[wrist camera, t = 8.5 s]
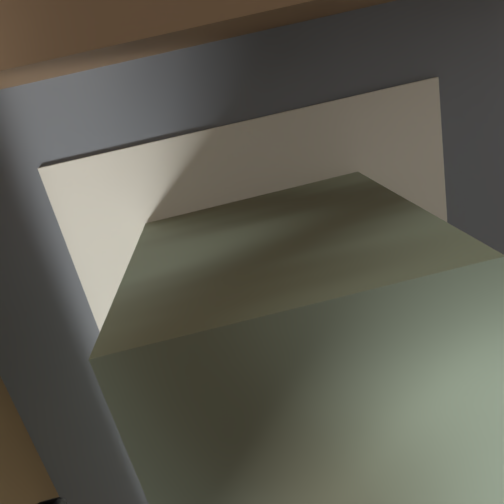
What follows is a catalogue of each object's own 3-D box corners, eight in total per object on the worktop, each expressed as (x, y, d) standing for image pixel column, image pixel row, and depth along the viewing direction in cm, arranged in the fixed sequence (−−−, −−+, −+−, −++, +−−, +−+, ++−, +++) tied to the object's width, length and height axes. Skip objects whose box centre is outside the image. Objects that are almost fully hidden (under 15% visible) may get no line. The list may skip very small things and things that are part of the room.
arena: (532, 460, 14) (635, 578, 11) (73, 573, 14) (32, 729, 10) (538, -88, 9) (735, -189, 6) (-184, 73, 9) (-423, 66, 5)
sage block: (357, 171, 10) (506, 255, 5) (399, 461, 12) (516, 690, 8) (145, 223, 9) (88, 359, 5) (235, 503, 12) (255, 760, 8)
